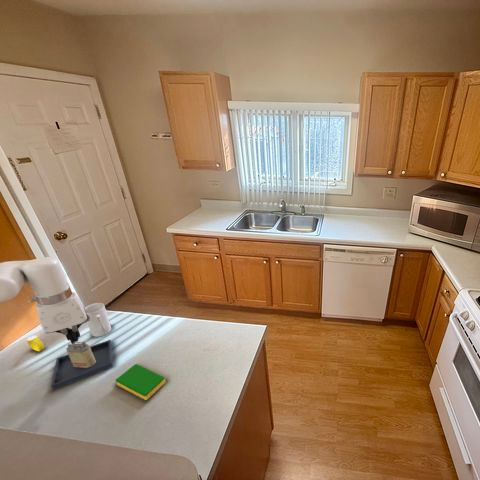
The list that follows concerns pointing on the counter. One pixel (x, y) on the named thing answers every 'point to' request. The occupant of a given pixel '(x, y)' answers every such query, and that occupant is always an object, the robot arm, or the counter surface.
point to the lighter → (81, 355)
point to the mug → (98, 319)
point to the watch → (35, 343)
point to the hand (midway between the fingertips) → (75, 339)
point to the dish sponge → (140, 381)
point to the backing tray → (70, 374)
